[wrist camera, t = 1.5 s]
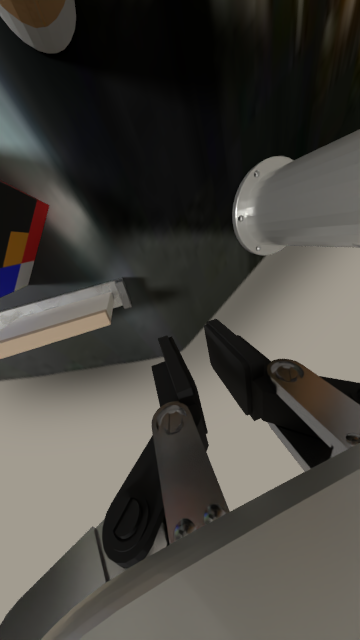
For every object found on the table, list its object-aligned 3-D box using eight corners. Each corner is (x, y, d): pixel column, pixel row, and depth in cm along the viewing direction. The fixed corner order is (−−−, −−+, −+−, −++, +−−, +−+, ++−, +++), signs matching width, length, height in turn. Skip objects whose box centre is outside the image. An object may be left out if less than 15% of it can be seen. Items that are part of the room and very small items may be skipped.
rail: (122, 277, 26) (122, 281, 23) (130, 300, 27) (131, 306, 25) (-92, 336, 22) (-122, 349, 19) (-68, 359, 23) (-92, 374, 21)
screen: (110, 291, 25) (105, 311, 17) (114, 300, 25) (110, 324, 18) (15, 318, 23) (-36, 354, 15) (22, 327, 23) (-24, 366, 16)
